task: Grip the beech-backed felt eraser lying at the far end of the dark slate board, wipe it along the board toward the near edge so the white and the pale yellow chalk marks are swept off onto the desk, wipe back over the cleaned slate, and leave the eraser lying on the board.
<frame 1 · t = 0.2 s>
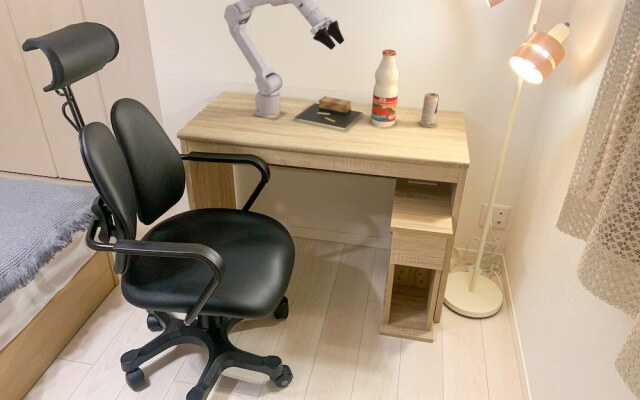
hand: (338, 45, 167), 31 cm above the table, tool tilted 45°, fingers open, 7 cm apart
strawberry milk bottle: (382, 123, 188), on the table
chalk mark white: (323, 113, 192), point 1 cm above the table, touching slate board
energy drink: (427, 125, 187), on the table
eraser: (334, 110, 195), point 1 cm above the table, touching slate board
chalk mark yellow: (330, 120, 187), point 1 cm above the table, touching slate board
slate board: (329, 117, 191), on the table
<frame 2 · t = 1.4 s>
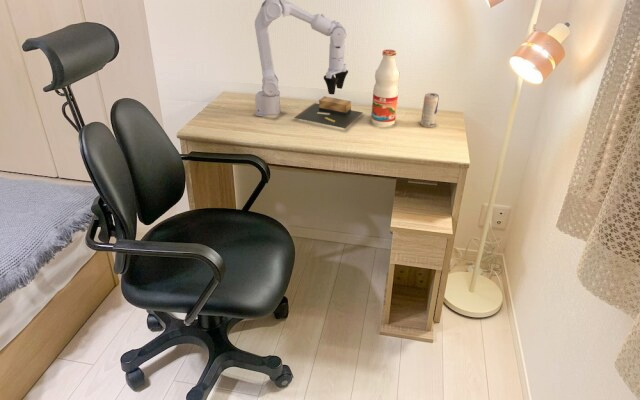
hand: (335, 91, 191), 9 cm above the table, tool pointing down, fingers open, 7 cm apart
nothing on the table moved.
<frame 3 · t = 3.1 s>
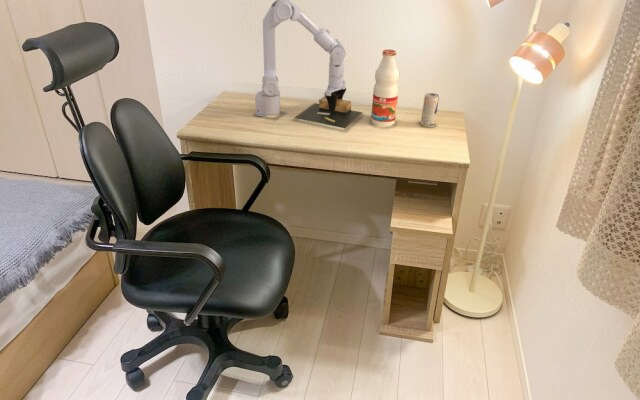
hand: (335, 107, 194), 2 cm above the table, tool pointing down, fingers closed on eraser, 5 cm apart
eraser: (334, 110, 195), point 1 cm above the table, touching gripper, slate board
everything else where it was.
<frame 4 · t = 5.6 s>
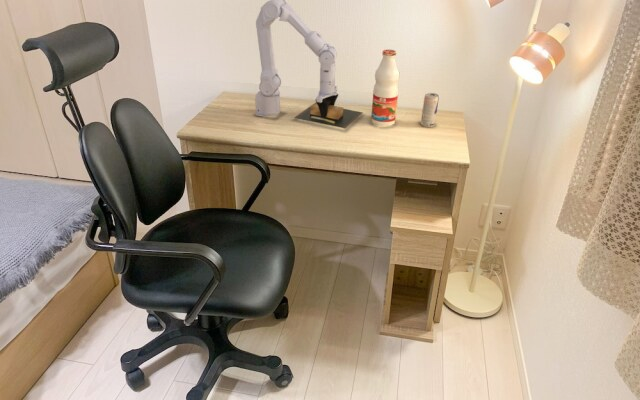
hand: (326, 114, 188), 2 cm above the table, tool pointing down, fingers closed on eraser, 5 cm apart
chalk mark white: (317, 118, 188), point 1 cm above the table, touching eraser, slate board
eraser: (326, 116, 189), point 1 cm above the table, touching chalk mark white, chalk mark yellow, gripper
chalk mark yellow: (328, 121, 185), point 1 cm above the table, touching eraser
everything else where it was.
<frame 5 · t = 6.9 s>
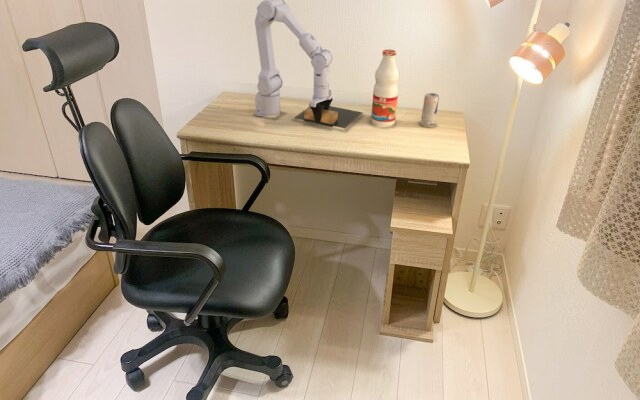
hand: (320, 118, 184), 2 cm above the table, tool pointing down, fingers closed on eraser, 5 cm apart
chalk mark white: (311, 125, 185), on the table, tilted 180°
eraser: (320, 121, 185), point 1 cm above the table, touching gripper
chalk mark yellow: (324, 127, 183), on the table, tilted 180°
everything else where it was.
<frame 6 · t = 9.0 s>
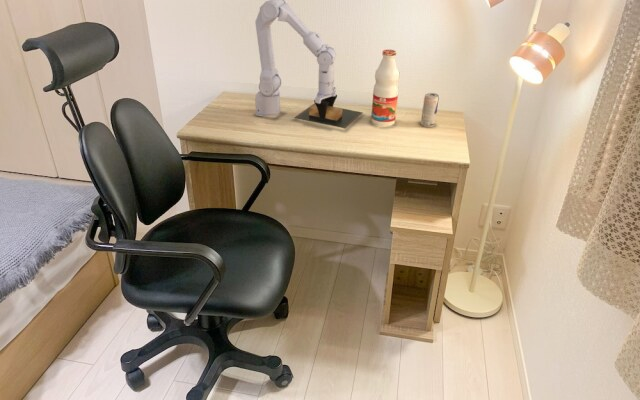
hand: (325, 115, 188), 2 cm above the table, tool pointing down, fingers closed on eraser, 5 cm apart
eraser: (325, 118, 188), point 1 cm above the table, touching gripper
everything else where it was.
when the fingers open (2 cm above the table, at t = 10.5 s): eraser stays where it is, resting on slate board.
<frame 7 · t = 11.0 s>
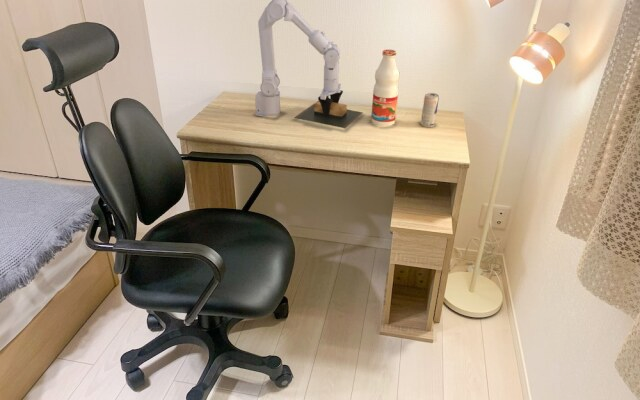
hand: (330, 111, 191), 2 cm above the table, tool pointing down, fingers open, 7 cm apart
eraser: (330, 114, 192), point 1 cm above the table, touching slate board
everything else where it was.
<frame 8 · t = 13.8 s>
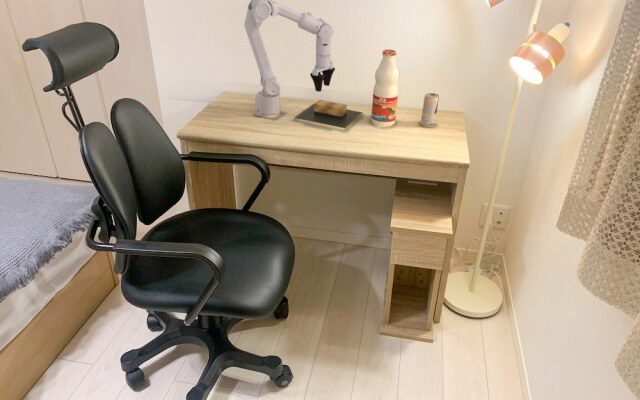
hand: (322, 88, 193), 9 cm above the table, tool pointing down, fingers open, 7 cm apart
nothing on the table moved.
at the end: chalk mark white on the table; chalk mark yellow on the table; eraser inside the target area on the slate board (1.0 cm from its centre), point 1.2 cm above the slate board's base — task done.
